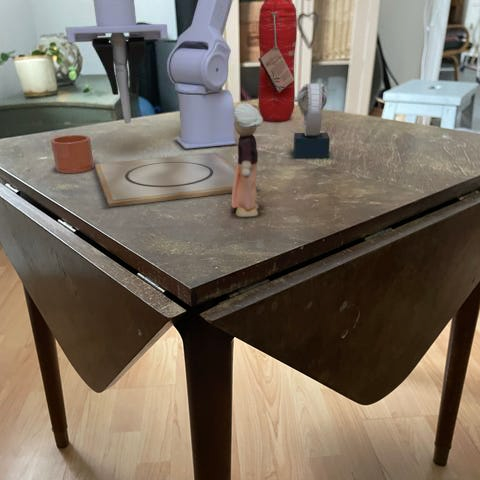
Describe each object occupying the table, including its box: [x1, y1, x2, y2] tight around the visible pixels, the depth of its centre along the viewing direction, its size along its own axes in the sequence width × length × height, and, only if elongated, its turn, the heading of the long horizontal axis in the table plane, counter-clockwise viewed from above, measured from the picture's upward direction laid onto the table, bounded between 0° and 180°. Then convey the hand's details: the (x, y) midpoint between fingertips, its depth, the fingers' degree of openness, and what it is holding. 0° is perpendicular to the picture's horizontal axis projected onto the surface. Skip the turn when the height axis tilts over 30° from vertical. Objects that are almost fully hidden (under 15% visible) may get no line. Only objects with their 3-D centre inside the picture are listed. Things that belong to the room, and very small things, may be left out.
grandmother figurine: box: [230, 102, 264, 218], centre depth 64 cm, size 8×4×13 cm, turn 5°
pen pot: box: [50, 134, 95, 174], centre depth 85 cm, size 6×6×4 cm
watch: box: [293, 83, 331, 159], centre depth 88 cm, size 6×8×11 cm
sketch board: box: [94, 152, 236, 208], centre depth 80 cm, size 20×20×1 cm
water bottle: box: [257, 0, 298, 123], centre depth 109 cm, size 12×8×25 cm, turn 168°
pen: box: [109, 33, 132, 124], centre depth 82 cm, size 2×3×14 cm
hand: (124, 93), depth 84 cm, fingers closed on pen, 2 cm apart
